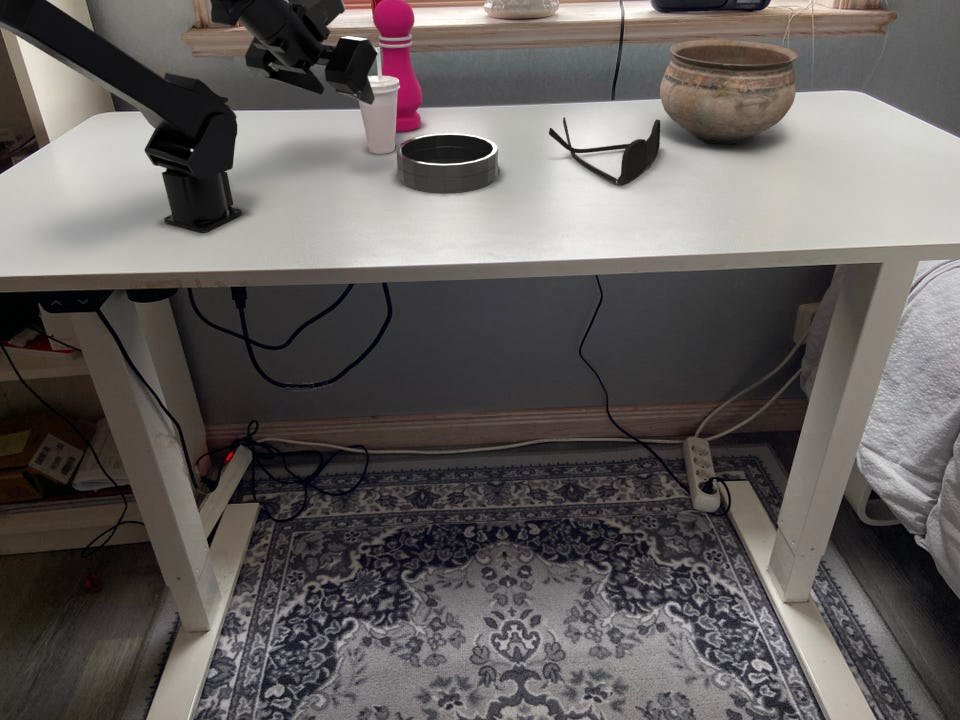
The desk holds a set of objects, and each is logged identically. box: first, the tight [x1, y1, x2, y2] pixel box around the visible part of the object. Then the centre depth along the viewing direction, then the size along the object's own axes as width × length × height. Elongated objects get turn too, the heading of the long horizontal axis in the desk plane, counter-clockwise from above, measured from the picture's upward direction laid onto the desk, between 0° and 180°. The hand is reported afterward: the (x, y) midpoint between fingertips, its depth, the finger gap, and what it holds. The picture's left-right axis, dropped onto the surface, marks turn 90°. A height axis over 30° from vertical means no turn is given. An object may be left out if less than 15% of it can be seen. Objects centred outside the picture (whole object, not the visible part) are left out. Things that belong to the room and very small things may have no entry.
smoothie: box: [358, 46, 400, 155], centre depth 106 cm, size 6×6×14 cm
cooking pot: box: [659, 39, 799, 145], centre depth 110 cm, size 25×19×12 cm
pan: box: [395, 133, 499, 194], centre depth 99 cm, size 13×13×4 cm
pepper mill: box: [372, 0, 423, 133], centre depth 114 cm, size 7×7×20 cm
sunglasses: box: [548, 116, 661, 185], centre depth 103 cm, size 17×14×5 cm
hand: (346, 96), depth 100 cm, fingers open, 9 cm apart
